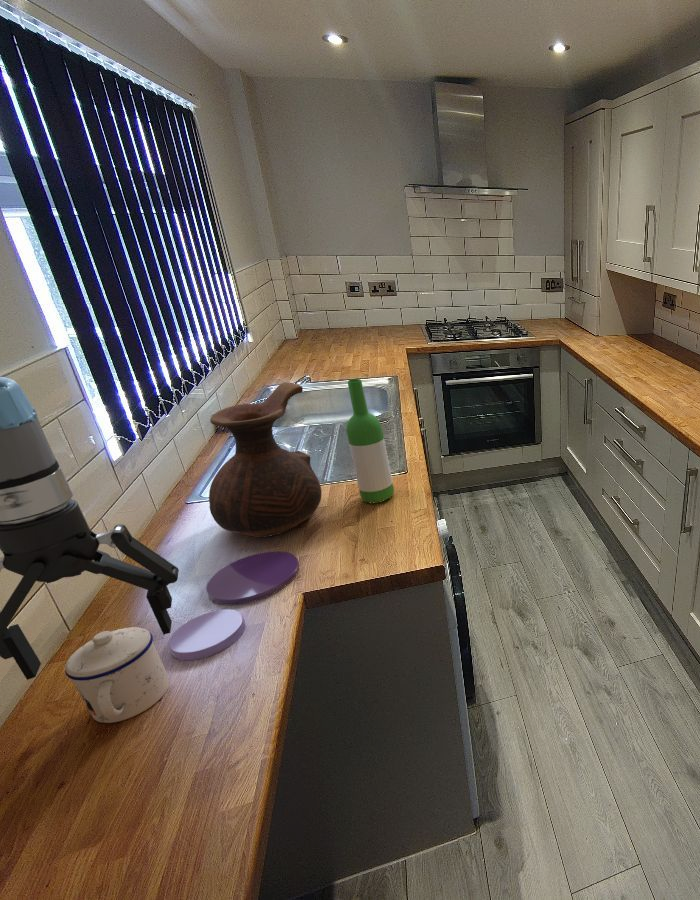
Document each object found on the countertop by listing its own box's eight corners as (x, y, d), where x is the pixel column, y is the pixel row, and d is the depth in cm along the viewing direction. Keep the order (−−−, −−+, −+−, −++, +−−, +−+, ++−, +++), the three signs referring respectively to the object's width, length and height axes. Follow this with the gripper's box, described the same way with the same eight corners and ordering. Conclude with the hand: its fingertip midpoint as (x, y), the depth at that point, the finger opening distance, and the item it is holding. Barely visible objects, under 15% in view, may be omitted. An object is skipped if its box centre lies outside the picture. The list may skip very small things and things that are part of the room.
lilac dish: (169, 670, 80) (165, 662, 79) (174, 631, 87) (171, 624, 87) (246, 643, 85) (243, 635, 84) (244, 608, 92) (242, 601, 92)
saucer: (207, 616, 91) (205, 610, 90) (209, 572, 102) (207, 567, 102) (303, 585, 98) (302, 580, 98) (295, 548, 110) (294, 543, 109)
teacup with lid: (100, 689, 77) (67, 626, 72) (177, 664, 81) (150, 604, 76) (75, 754, 67) (35, 687, 62) (163, 723, 71) (132, 658, 66)
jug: (323, 536, 114) (288, 405, 102) (206, 557, 107) (155, 419, 95) (333, 493, 133) (305, 377, 121) (234, 508, 126) (194, 388, 114)
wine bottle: (366, 508, 125) (340, 387, 113) (357, 496, 131) (331, 379, 119) (399, 498, 129) (377, 380, 118) (389, 487, 135) (366, 373, 123)
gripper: (-151, 561, 52) (-43, 714, 61) (162, 492, 65) (216, 627, 73) (-113, 529, 58) (-19, 672, 66) (167, 471, 70) (216, 598, 79)
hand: (104, 649), depth 70 cm, fingers open, 13 cm apart
